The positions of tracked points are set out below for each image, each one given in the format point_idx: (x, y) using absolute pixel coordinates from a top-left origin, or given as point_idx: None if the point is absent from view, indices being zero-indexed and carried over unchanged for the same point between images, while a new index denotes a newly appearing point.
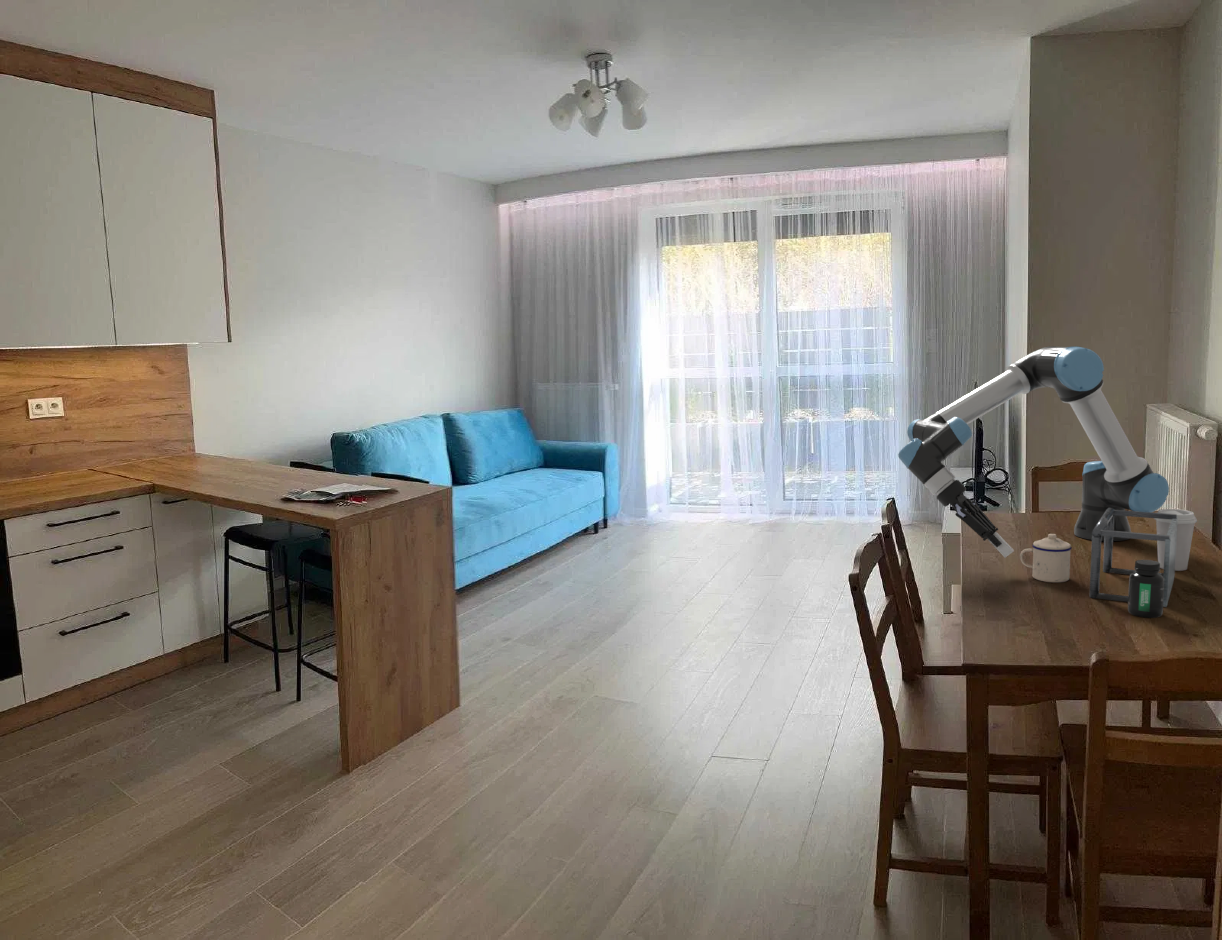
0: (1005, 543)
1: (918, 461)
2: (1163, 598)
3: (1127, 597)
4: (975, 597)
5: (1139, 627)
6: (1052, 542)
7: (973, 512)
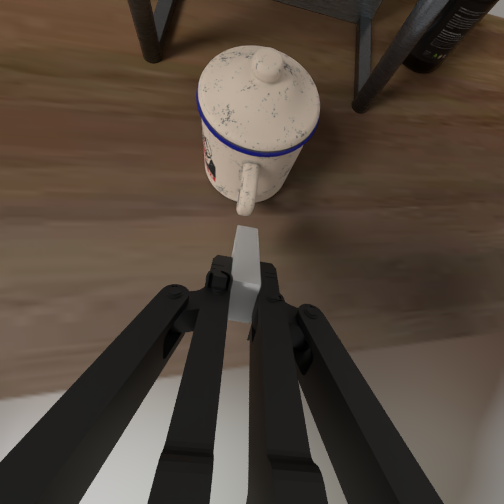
0: (255, 247)
1: None
2: None
3: (367, 56)
4: (466, 322)
5: (483, 74)
6: (298, 83)
7: (318, 492)
